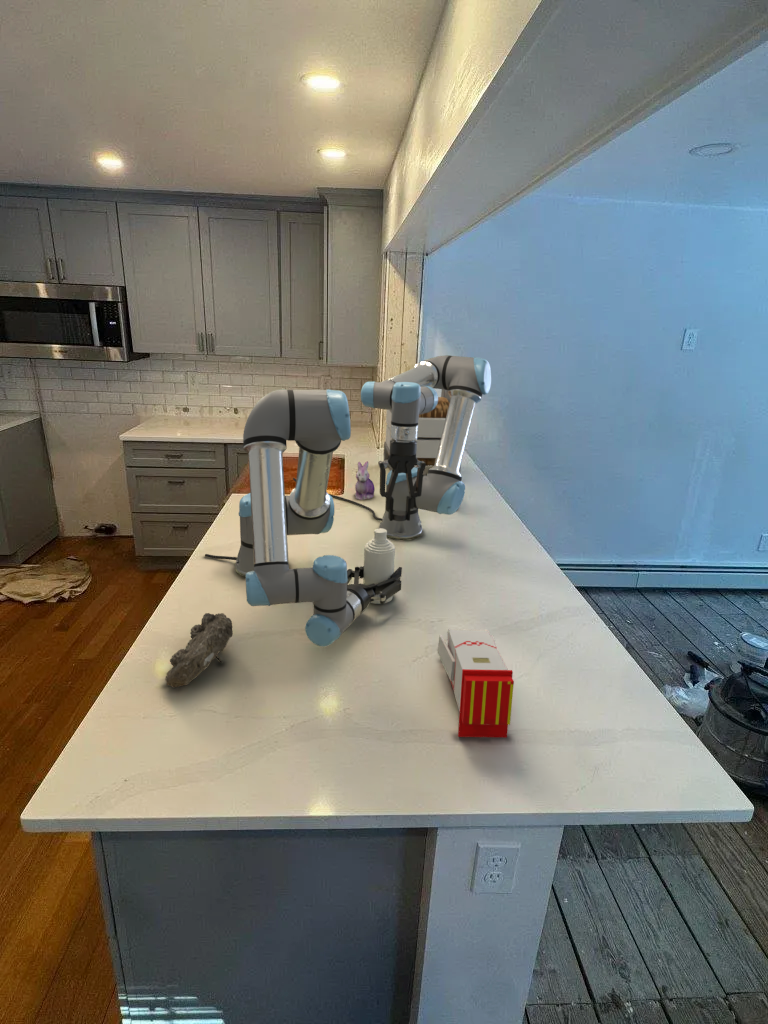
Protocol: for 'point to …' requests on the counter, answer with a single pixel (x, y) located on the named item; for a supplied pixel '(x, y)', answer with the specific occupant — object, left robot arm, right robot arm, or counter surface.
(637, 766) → the counter surface
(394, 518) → the cap
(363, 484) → the figurine
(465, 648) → the toy
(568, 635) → the counter surface
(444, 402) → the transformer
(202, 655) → the fossil
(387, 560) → the bottle
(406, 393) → the right robot arm
